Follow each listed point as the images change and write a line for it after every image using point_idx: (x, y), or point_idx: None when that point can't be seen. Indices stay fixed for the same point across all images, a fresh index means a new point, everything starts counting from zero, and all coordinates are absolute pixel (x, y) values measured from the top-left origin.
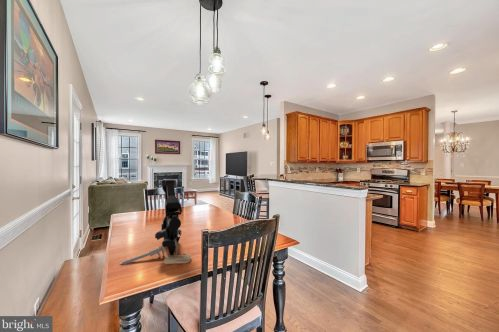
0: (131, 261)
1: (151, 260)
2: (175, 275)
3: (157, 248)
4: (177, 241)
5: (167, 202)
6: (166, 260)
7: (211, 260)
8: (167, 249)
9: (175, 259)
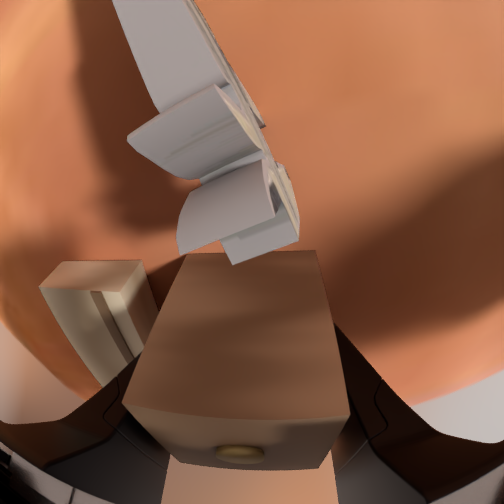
0: None
1: (114, 58)
2: (17, 338)
3: (182, 69)
4: (337, 482)
5: None
6: (51, 301)
7: None
8: (144, 357)
9: (87, 367)
